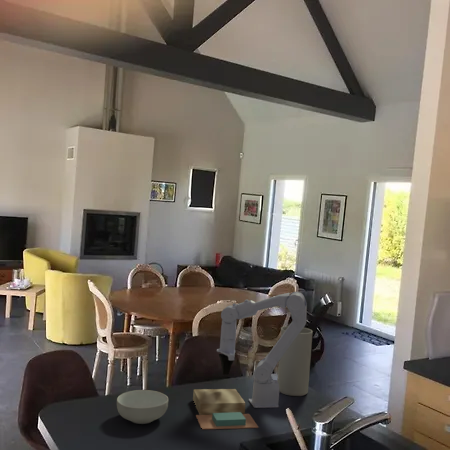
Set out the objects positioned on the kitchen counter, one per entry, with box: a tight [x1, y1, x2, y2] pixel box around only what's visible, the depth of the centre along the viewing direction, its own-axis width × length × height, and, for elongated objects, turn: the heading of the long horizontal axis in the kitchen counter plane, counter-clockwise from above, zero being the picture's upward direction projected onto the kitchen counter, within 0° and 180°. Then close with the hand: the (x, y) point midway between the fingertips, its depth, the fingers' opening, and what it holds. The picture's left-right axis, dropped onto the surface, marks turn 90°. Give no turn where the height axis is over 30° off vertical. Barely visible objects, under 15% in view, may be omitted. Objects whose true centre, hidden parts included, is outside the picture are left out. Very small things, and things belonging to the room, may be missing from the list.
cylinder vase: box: [277, 325, 314, 397], centre depth 211 cm, size 12×12×25 cm
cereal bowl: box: [116, 389, 169, 425], centre depth 173 cm, size 17×17×7 cm
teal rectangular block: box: [212, 412, 246, 426], centre depth 175 cm, size 10×6×2 cm, turn 105°
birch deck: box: [192, 388, 246, 415], centre depth 188 cm, size 16×14×4 cm
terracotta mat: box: [195, 413, 259, 430], centre depth 176 cm, size 19×11×1 cm, turn 103°
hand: (225, 374), depth 197 cm, fingers closed
